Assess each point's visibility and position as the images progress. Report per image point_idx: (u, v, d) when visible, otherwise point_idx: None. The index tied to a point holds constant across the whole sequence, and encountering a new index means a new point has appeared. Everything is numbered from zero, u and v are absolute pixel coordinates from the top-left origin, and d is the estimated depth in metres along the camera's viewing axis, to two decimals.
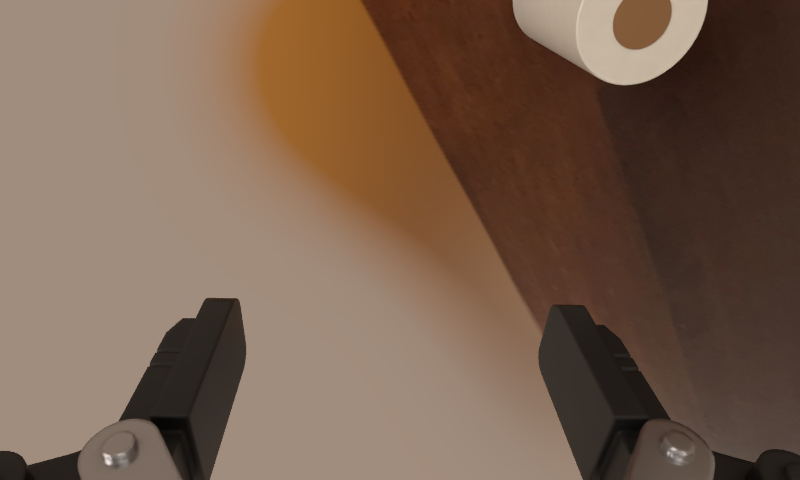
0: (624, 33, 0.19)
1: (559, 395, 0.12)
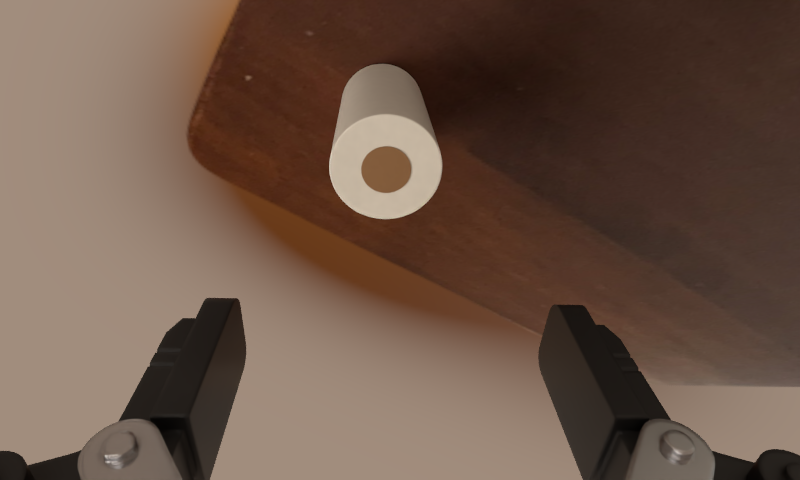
0: (381, 185, 0.22)
1: (559, 395, 0.12)
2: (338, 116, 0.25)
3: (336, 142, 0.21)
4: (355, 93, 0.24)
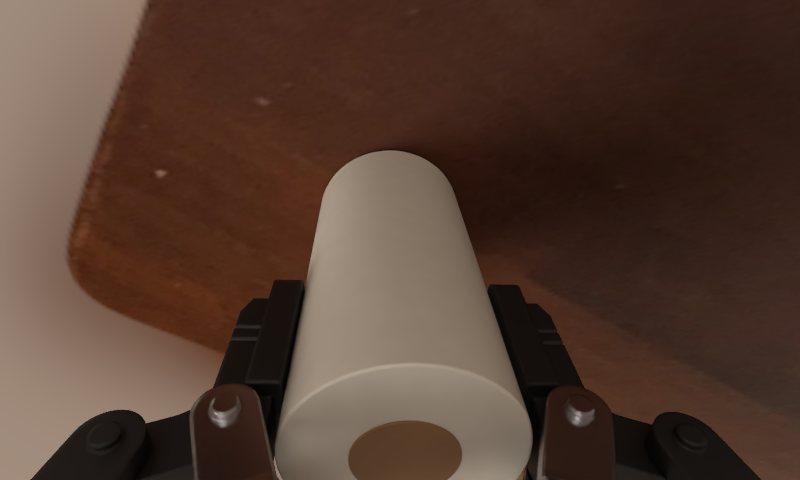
0: None
1: None
2: (308, 272, 0.13)
3: (288, 415, 0.09)
4: (339, 236, 0.12)
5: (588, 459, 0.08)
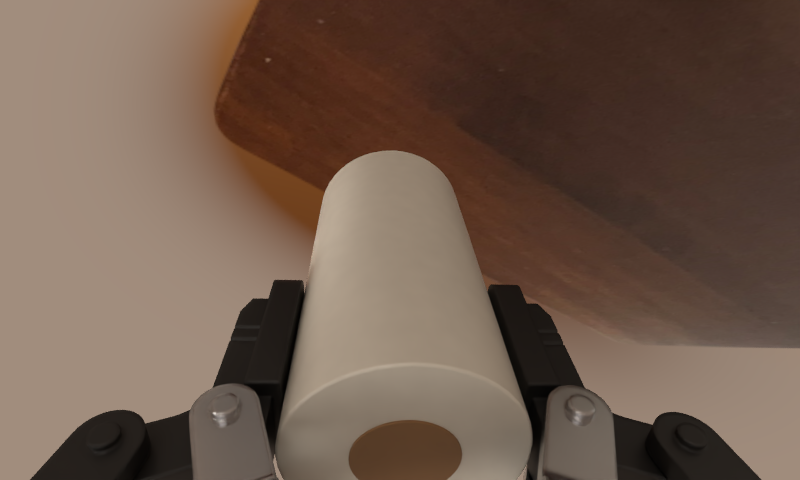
0: None
1: None
2: (309, 271, 0.13)
3: (289, 414, 0.09)
4: (340, 236, 0.13)
5: (589, 459, 0.08)
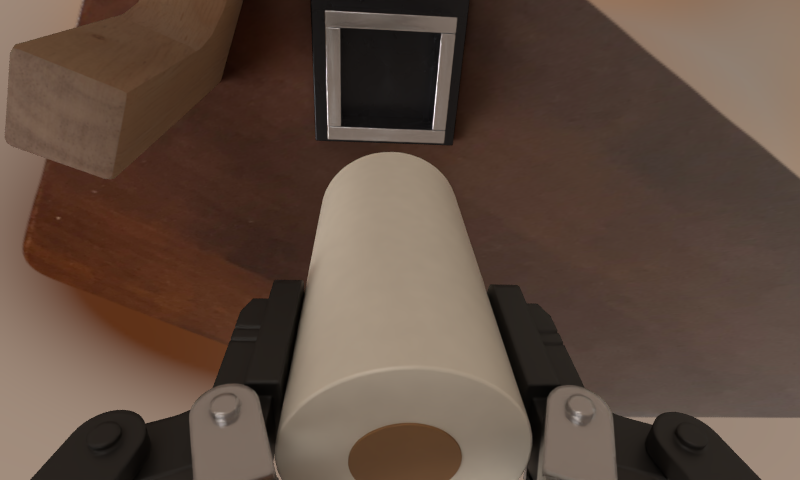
0: None
1: None
2: (308, 273, 0.13)
3: (288, 417, 0.09)
4: (340, 238, 0.13)
5: (589, 459, 0.08)
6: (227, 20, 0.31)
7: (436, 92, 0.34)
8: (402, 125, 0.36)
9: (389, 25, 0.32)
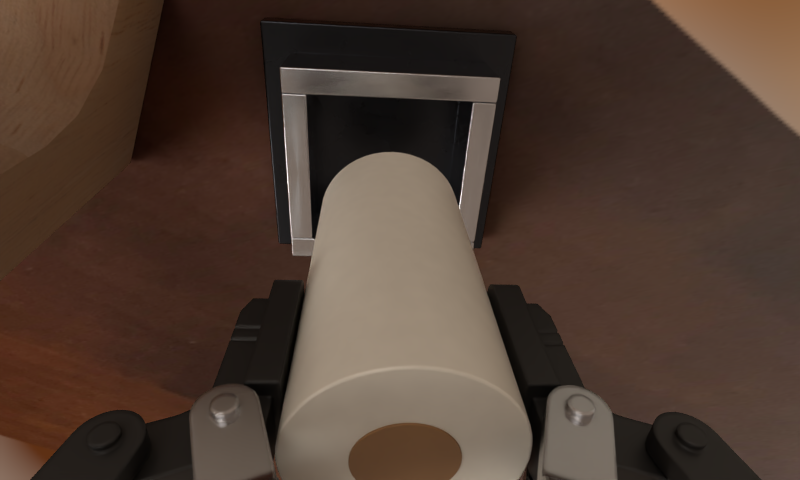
0: None
1: None
2: None
3: (288, 417, 0.09)
4: (340, 238, 0.13)
5: (589, 459, 0.08)
6: (117, 82, 0.19)
7: (462, 189, 0.21)
8: None
9: (388, 90, 0.19)
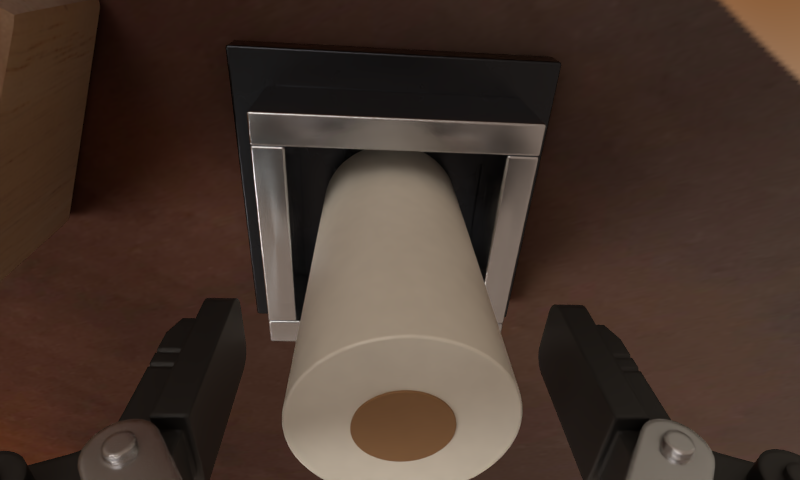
0: (392, 450, 0.10)
1: (559, 395, 0.12)
2: (313, 258, 0.14)
3: (295, 384, 0.09)
4: (343, 224, 0.13)
5: None
6: (28, 131, 0.14)
7: (489, 263, 0.17)
8: None
9: (394, 141, 0.14)
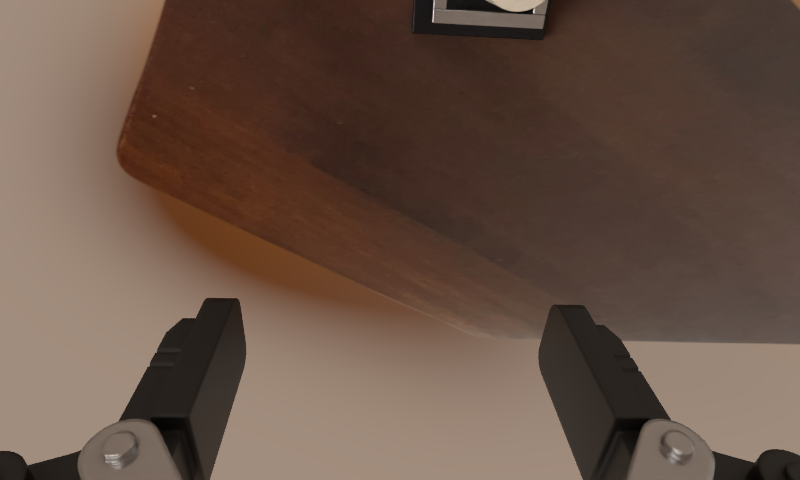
0: None
1: (559, 395, 0.12)
2: None
3: None
4: None
5: None
6: None
7: None
8: (502, 11, 0.37)
9: None
